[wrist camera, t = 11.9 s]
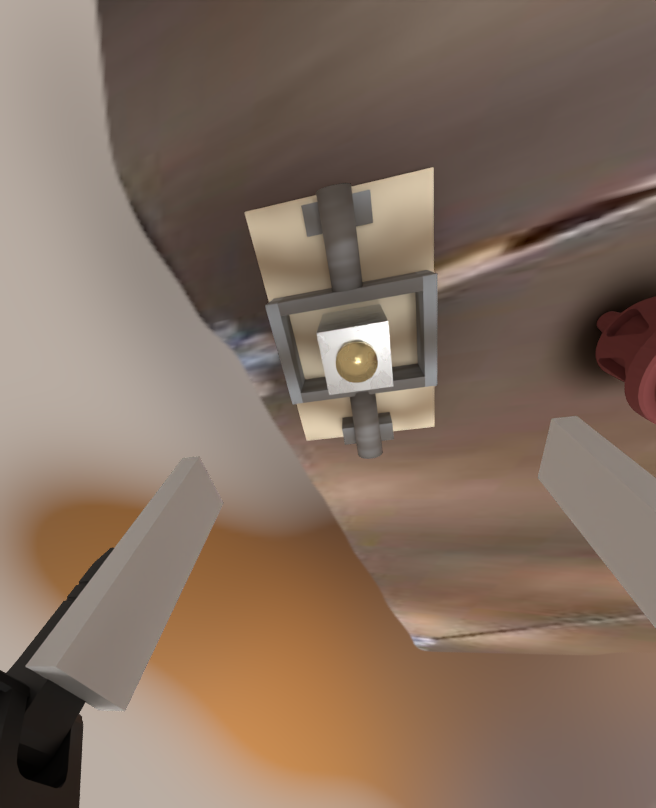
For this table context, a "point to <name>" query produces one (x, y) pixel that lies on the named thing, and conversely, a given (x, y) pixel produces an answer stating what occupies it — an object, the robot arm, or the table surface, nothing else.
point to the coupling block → (355, 349)
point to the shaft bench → (354, 299)
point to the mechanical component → (631, 353)
